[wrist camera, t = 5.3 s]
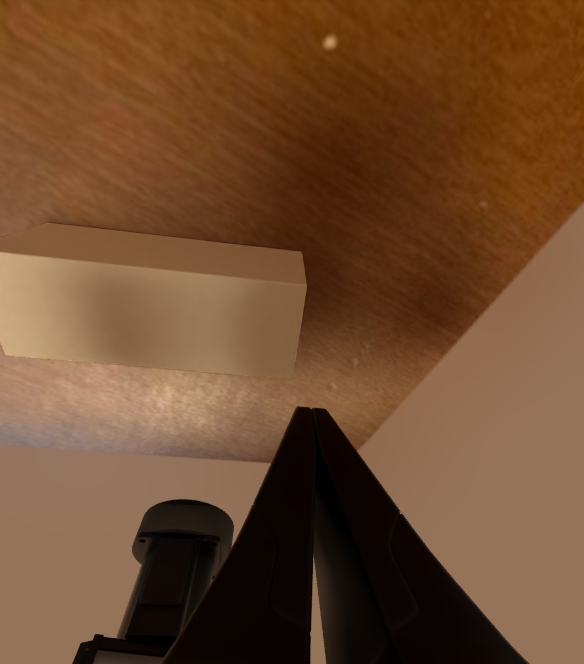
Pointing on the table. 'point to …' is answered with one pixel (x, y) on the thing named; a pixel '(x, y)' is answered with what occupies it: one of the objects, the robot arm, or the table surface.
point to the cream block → (150, 301)
